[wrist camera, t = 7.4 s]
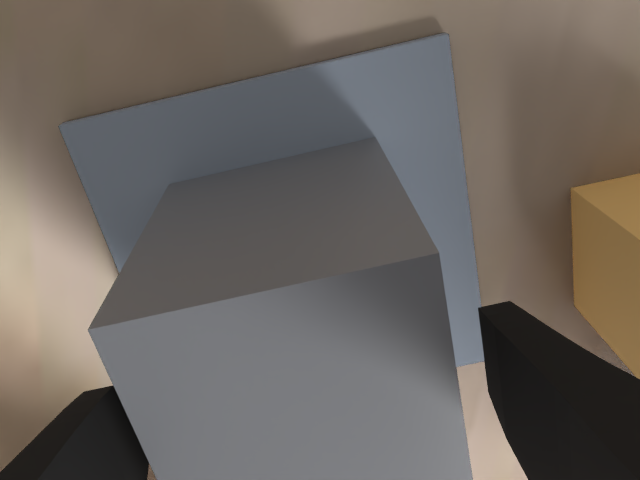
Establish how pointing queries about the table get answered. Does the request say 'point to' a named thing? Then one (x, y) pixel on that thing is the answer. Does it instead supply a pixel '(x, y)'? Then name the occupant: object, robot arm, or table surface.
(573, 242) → the ochre cube
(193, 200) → the blue-gray cube on pad
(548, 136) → the table surface
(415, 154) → the slate mat
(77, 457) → the robot arm
